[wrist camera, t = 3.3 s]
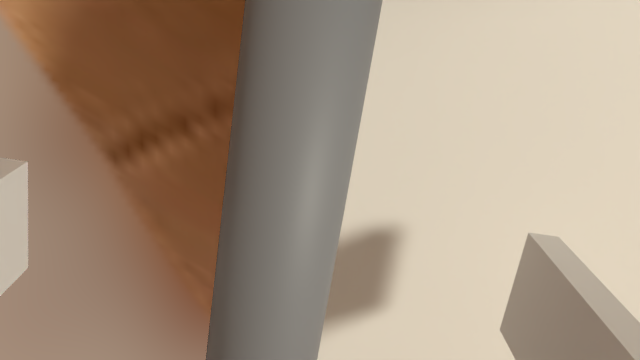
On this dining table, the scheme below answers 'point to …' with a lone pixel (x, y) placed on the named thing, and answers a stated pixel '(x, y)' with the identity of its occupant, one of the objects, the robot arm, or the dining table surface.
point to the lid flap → (420, 171)
